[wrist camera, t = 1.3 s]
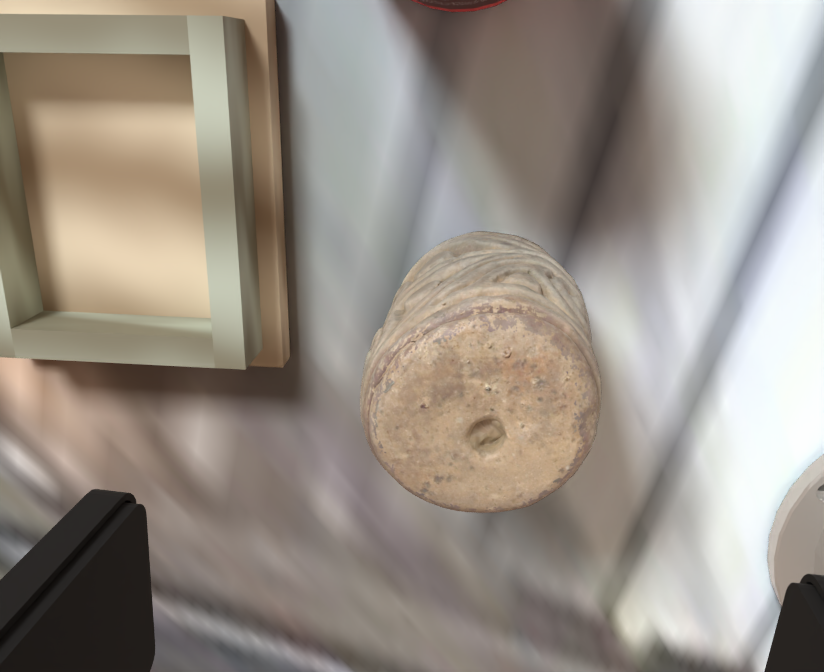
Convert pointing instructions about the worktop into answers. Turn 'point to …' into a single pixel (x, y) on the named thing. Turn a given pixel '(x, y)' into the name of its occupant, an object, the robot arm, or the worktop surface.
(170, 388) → the worktop surface
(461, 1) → the canned food
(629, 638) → the worktop surface
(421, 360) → the carving
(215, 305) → the beige shallow tray
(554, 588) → the worktop surface
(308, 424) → the worktop surface
